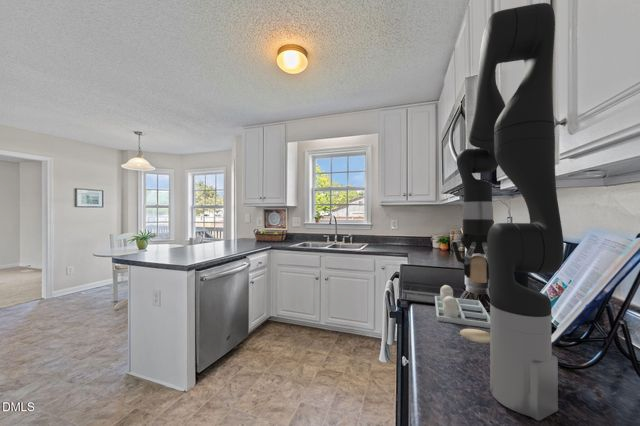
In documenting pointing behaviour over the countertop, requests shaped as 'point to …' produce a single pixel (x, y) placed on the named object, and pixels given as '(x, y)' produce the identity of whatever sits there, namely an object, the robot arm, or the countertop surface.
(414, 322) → the countertop surface
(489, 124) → the robot arm
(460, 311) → the egg carton
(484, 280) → the brown egg
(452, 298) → the cream egg
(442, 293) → the cream egg
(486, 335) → the birch coaster
